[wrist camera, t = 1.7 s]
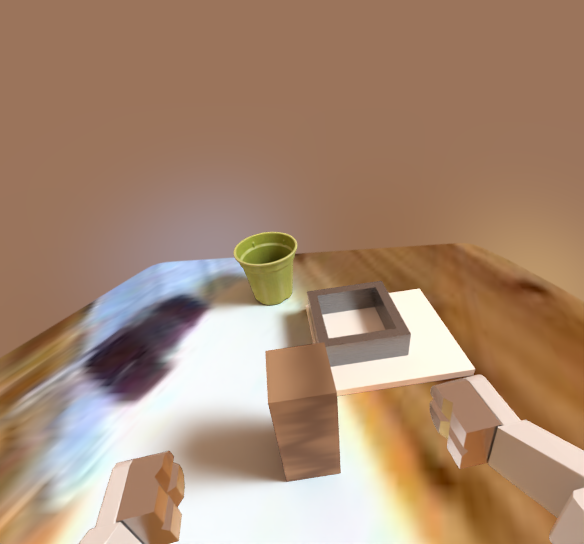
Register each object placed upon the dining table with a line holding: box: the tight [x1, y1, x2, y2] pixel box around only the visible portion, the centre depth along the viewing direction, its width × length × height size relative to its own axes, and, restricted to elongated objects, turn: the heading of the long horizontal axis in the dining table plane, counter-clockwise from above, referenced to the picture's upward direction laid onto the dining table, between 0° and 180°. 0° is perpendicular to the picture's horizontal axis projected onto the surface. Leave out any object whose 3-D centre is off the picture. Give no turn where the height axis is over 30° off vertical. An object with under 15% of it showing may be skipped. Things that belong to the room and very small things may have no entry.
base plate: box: [306, 289, 475, 396], centre depth 44 cm, size 17×15×1 cm
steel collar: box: [307, 281, 411, 367], centre depth 43 cm, size 10×10×4 cm
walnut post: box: [266, 342, 341, 482], centre depth 30 cm, size 5×5×12 cm
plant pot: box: [234, 232, 297, 305], centre depth 52 cm, size 9×9×9 cm
